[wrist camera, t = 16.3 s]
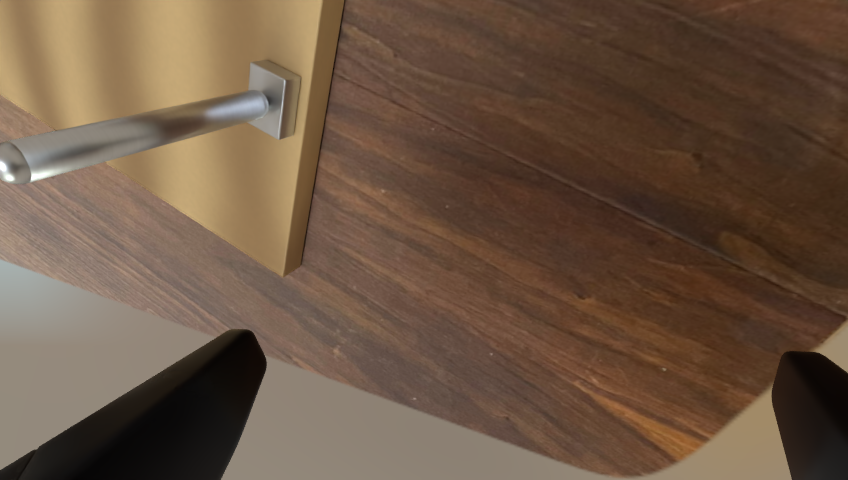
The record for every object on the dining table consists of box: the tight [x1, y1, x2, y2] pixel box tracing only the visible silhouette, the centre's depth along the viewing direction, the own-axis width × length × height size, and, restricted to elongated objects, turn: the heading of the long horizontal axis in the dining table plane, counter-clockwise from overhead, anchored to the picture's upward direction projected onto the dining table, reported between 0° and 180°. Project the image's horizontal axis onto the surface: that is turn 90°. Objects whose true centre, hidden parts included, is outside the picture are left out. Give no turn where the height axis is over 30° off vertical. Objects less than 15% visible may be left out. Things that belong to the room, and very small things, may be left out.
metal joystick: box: [0, 60, 301, 184], centre depth 17 cm, size 3×2×11 cm
